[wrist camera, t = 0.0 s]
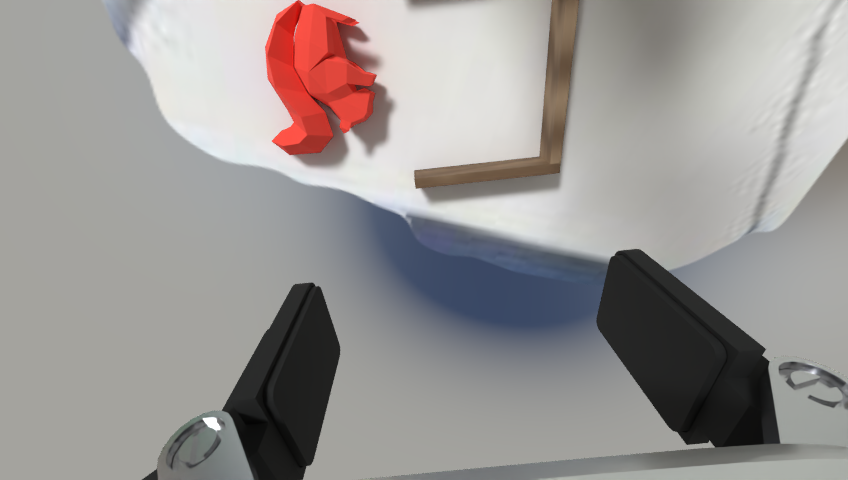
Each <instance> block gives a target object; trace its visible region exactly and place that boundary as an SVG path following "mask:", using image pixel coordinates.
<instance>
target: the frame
mask: <svg viewBox="0 0 848 480" xmlns="http://www.w3.org/2000/svg"><path fill="white" fill-rule="evenodd" d="M578 5H579V0H552V7H551V19H550V32H549V44H548V57H547V69H546V82H545V94H544V107H543V119H542V132H541V145H540V157H532V158H523V159H514V160H505V161H496V162H487V163H478V164H469V165H459V166H450V167H441V168H432V169H423V170H414V174H415V186H416V189H417V188H426V187H435V186H444V185H453V184H463V183H472V182H481V181H490V180H500V179H509V178H518V177H527V176H536V175H546V174H555V173H559V172H560V163H561V155H562V146H563V137H564V128H565V119H566V111H567V102H568V93H569V84H570V75H571V67H572V58H573V49H574V40H575V31H576V23H577V14H578Z"/></svg>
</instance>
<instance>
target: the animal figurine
mask: <svg viewBox="0 0 848 480" xmlns="http://www.w3.org/2000/svg"><path fill="white" fill-rule="evenodd" d="M337 22H339V23H342V24H346V25H349V26H354V25H356V24H358V23H359V22H357V21H356V20H354V19H352V18H350V17H348V16H345V15H342V14H340V13H337V12H335V11H332V10H329V9H327V8H324V7H321V6H319V5H316V4H310V5H304V4H303V3H302V2H301V1H299V0H298V1H296V2H295V3H293V4H292V5H290V6H289V7H287V8H286V9H284V10H283V11H282V12H280V13H279V14H277V15H276V18H275V21H274V24H273V27H272V29H271V32H270V35H269V38H268V41H267V44H266V46H265V50H266V63H267V75H268V80H269V81H270V83H271V85H272V86H273V88H274V89H275V91H276V93H277V94H278V96H279V97H280V99H281V100H282V102H283V104H284V105H285V107H286V108H287V110H288V112H289V113H290V115H291V117H292V119H293V121H294V123H293V125H292V126H291V127H289V128H287V129H285V130H282V131H281V132H280V133H279V134H278V135H277V136H276V137H275V138H274V139H273V140H272V142H273V143H275V144H276V145H277V146H279V147H280V148H281V149H283V150H284V151H285V152H287V153H288V154H289V155H295V154H307V153H319V152H321V151H322V150H323V149H324V147H325V146H326V145H327V144H328V142H329V141H330V140H331V139H332V137H333V133H332V130H331V127H330V124H329V122H328V119H327V116H326V113H325V111H324V110H323V109H322V108H321V107H320V106H319V105H318V104H317V103H316V102H315V101H314V100H313V99H312V97H311V96H313V97H314V98H316V99H318V100H319V101H321V102H323V103H324V104H326V105H327V106H329V107H330V108H331V109H332V110H333V111H334V113H335V114H336V115H337V116H338V118H339V119H340V120H341V122H340V126H339V127H340V129H341V130H342V132H343V133H346V132H348V131H349V130H350V128H351V127H353V126H354V125H356V124H359V123H361V122H364V121H366V120H367V119H368V117H369V116H370V115H371V114H372V113H373V100H374V96H375V93H374V92H372V91H370V90H368V89H366V88H363V89H360V90H357V89H356V85H363V86H371V85H373V83H374V81H375V78H376V76H377V75H376V74H373V73H370V72H365V71H364V70H363V69H362V68H360V67H359V66H358V65H357V64H356V63H354V62H352V61H350V60H348V59H347V57H346V54H345V50H344V47H343V44H342V40H341V37H340V33H339V30H338V27H337ZM297 23H298V25H297ZM296 25H297V29H296V33H295V55H294V32H295V27H296ZM294 68H295V69H294ZM295 70H296V71H297V73H298V74H297V73H296V71H295ZM298 75H299V76H298ZM299 77H300V78H299ZM300 79H301V80H302V82H303V84H304V85H303V84H302V82H301V80H300ZM304 86H305V87H306V89H307V91H308V93H309V94H310V95H311V96H310V95H309V94H308V93H307V91H306V89H305V87H304Z"/></svg>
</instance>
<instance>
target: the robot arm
mask: <svg viewBox="0 0 848 480" xmlns="http://www.w3.org/2000/svg"><path fill="white" fill-rule="evenodd" d="M597 326H598V329H599V330H600V332H601V333H602V334H603V336H604V337H605V339H606V340H607V341H608V343H609V344H610V346H611V347H612V349H613V350H614V351H615V353H616V354H617V356H618V357H619V358H620V360H621V361H622V362H623V364H624V365H625V367H626V368H627V370H628V371H629V372H630V374H631V375H632V376H633V378H634V379H635V381H636V382H637V383H638V385H639V386H640V388H641V389H642V390H643V392H644V393H645V395H646V396H647V397H648V399H649V400H650V402H651V403H652V404H653V406H654V407H655V409H656V410H657V411H658V413H659V414H660V416H661V417H662V418H663V420H664V421H665V423H666V424H667V425H668V427H669V428H671V429H672V430H673V431H675V432H678V434H679V435H680V436H681V438H682V439H683V440H684V441H685V443H686V444H687V445H689V444H700V443H708V442H709V440H710V441H711V443H712V444H713V445H714V446H715V448H702V449H690V450H677V451H666V452H654V453H643V454H631V455H619V456H607V457H596V458H584V459H573V460H562V461H552V462H540V463H530V464H518V465H507V466H496V467H485V468H474V469H463V470H453V471H443V472H432V473H422V474H411V475H401V476H392V477H380V478H370V479H361V480H848V378H847V377H846V376H844V375H843V374H841V373H839V372H837V371H835V370H833V369H831V368H829V367H827V366H824V365H822V364H819V363H817V362H814V361H811V360H807V359H802V358H799V357H791V356H781V357H775V358H774V359H772V360H771V361H768V360H767V359H766V358H765V357H763V356H762V355H763V353H764V351H765V350H766V349H765V348H764V347H763V346H761V345H760V344H759V343H758V342H756V341H755V340H754V339H753V338H751V337H750V336H749V335H748V334H746V333H745V332H744V331H743V330H741V329H740V328H739V327H738V326H736V325H735V324H734V323H732V322H731V321H730V320H729V319H727V318H726V317H725V316H724V315H722V314H721V313H720V312H719V311H717V310H716V309H715V308H714V307H712V306H711V305H710V304H708V303H707V302H706V301H705V300H703V299H702V298H701V297H700V296H698V295H697V294H696V293H695V292H693V291H692V290H691V289H690V288H688V287H687V286H686V285H685V284H683V283H682V282H680V281H679V280H678V279H677V278H676V277H674V276H673V275H672V274H671V273H669V272H668V271H667V270H666V269H664V268H663V267H662V266H661V265H659V264H658V263H657V262H655V261H654V260H653V259H652V258H650V257H649V256H648V255H647V254H645V253H644V252H643V251H641V250H640V249H632V250H622V251H618V252H617V253H616V254H615V256H612V257H611V259H610V262H609V266H608V271H607V275H606V279H605V284H604V289H603V293H602V297H601V302H600V306H599V311H598V315H597ZM339 357H340V345H339V342H338V338H337V335H336V332H335V329H334V326H333V323H332V320H331V317H330V314H329V311H328V308H327V305H326V302H325V299H324V296H323V293H322V290H321V288H320V287H319V286H317V287H316V286H315V284H314V283H303V284H295V285H293V287H292V288H291V290H290V292H289V294H288V296H287V297H286V299H285V301H284V303H283V305H282V307H281V308H280V310H279V312H278V314H277V316H276V317H275V319H274V321H273V323H272V325H271V327H270V328H269V329H268V330H267V331H266V333H265V334H264V336H263V337H262V339H261V341H260V343H259V345H258V346H257V348H256V350H255V352H254V354H253V355H252V357H251V359H250V361H249V363H248V364H247V366H246V368H245V370H244V372H243V373H242V375H241V377H240V379H239V381H238V382H237V384H236V386H235V388H234V390H233V391H232V393H231V395H230V397H229V399H228V400H227V402H226V404H225V406H224V408H223V409H222V411H210V412H207V413H203V414H201V415H199V416H197V417H196V418H193V419H192V420H190V421H189V422H187V423H186V424H184V425H183V426H182V427H180V428H179V429H178V430H177V431H176V432H175V433H174V435H172V436H171V437H170V439H169V440H168V442H167V443H166V444H165V446H164V447H163V449H162V451H161V453H160V456H159V458H158V464H157V469H156V470H155V471H154V472H152V473H151V474H149V475H148V476H147V477H145V478H144V479H142V480H303V477H304V473H305V469H306V466H309V465H311V464H312V462H313V459H314V456H315V452H316V448H317V444H318V440H319V436H320V432H321V428H322V424H323V420H324V416H325V412H326V408H327V404H328V400H329V396H330V392H331V388H332V384H333V380H334V376H335V373H336V368H337V365H338V360H339Z"/></svg>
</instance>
